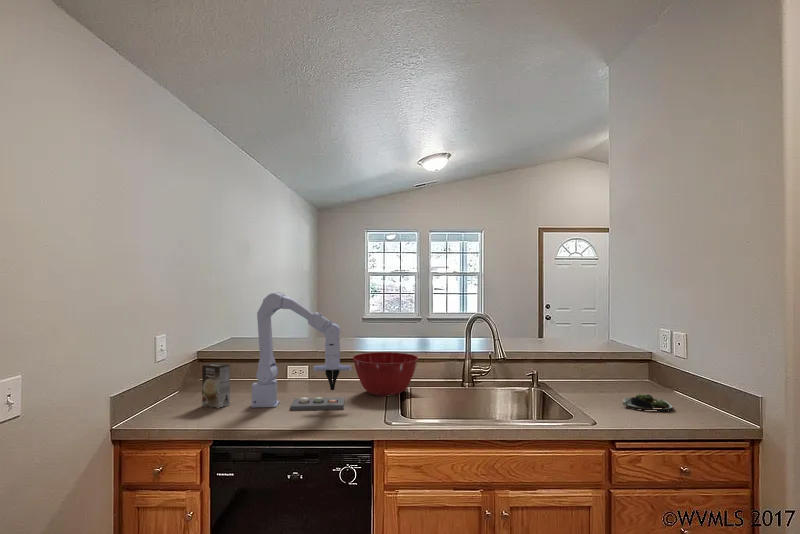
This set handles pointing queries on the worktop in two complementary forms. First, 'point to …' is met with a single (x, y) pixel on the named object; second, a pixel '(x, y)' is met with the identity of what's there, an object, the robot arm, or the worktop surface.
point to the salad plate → (647, 403)
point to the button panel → (317, 404)
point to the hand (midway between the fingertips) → (332, 389)
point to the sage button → (318, 400)
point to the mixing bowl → (385, 372)
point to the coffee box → (216, 384)
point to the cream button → (304, 400)
